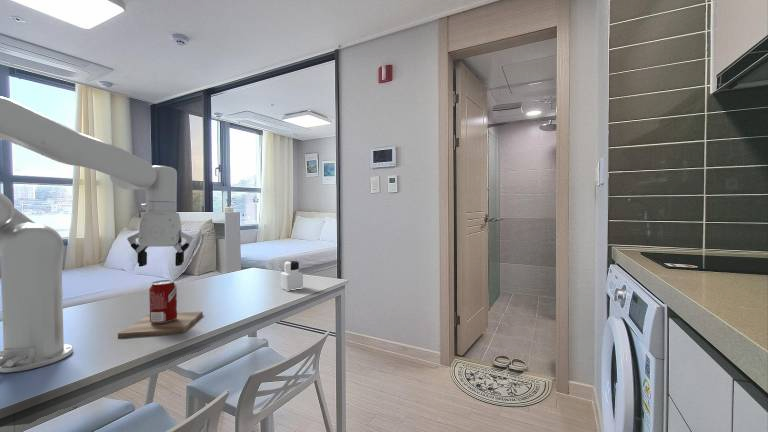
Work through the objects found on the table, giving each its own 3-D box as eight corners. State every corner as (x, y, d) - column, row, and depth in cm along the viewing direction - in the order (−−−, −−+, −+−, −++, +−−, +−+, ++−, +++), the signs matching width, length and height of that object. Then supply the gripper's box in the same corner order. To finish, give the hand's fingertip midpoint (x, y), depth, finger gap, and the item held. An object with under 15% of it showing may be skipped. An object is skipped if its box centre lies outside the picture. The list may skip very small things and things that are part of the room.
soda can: (163, 326, 94) (162, 284, 94) (144, 324, 96) (143, 283, 95) (182, 318, 101) (181, 279, 100) (164, 317, 102) (163, 278, 102)
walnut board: (182, 333, 92) (182, 329, 92) (117, 337, 89) (117, 333, 89) (202, 315, 108) (202, 311, 108) (148, 318, 105) (148, 314, 105)
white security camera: (296, 286, 147) (295, 259, 147) (303, 289, 142) (302, 261, 141) (280, 288, 143) (280, 261, 142) (287, 292, 137) (287, 263, 137)
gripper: (121, 207, 92) (120, 268, 92) (188, 208, 95) (187, 267, 95) (135, 207, 99) (135, 264, 99) (198, 208, 103) (197, 263, 103)
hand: (161, 265), depth 97 cm, fingers open, 9 cm apart
